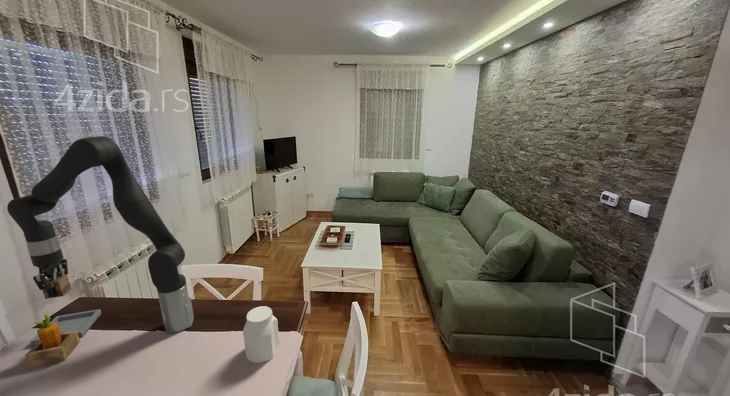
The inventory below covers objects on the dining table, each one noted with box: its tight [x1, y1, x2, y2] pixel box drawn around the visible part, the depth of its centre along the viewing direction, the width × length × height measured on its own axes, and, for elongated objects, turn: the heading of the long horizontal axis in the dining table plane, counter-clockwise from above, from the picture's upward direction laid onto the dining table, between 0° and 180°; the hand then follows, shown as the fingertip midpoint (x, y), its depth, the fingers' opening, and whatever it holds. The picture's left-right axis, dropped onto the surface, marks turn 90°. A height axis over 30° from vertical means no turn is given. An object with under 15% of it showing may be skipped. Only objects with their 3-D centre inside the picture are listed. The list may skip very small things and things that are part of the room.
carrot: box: [33, 314, 61, 349], centre depth 96 cm, size 5×5×15 cm
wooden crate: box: [24, 330, 81, 369], centre depth 97 cm, size 9×9×5 cm
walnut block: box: [41, 274, 72, 300], centre depth 105 cm, size 5×5×6 cm
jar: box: [242, 305, 280, 364], centre depth 99 cm, size 12×10×15 cm
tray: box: [30, 308, 102, 347], centre depth 109 cm, size 14×14×2 cm
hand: (58, 292), depth 105 cm, fingers closed on walnut block, 5 cm apart
